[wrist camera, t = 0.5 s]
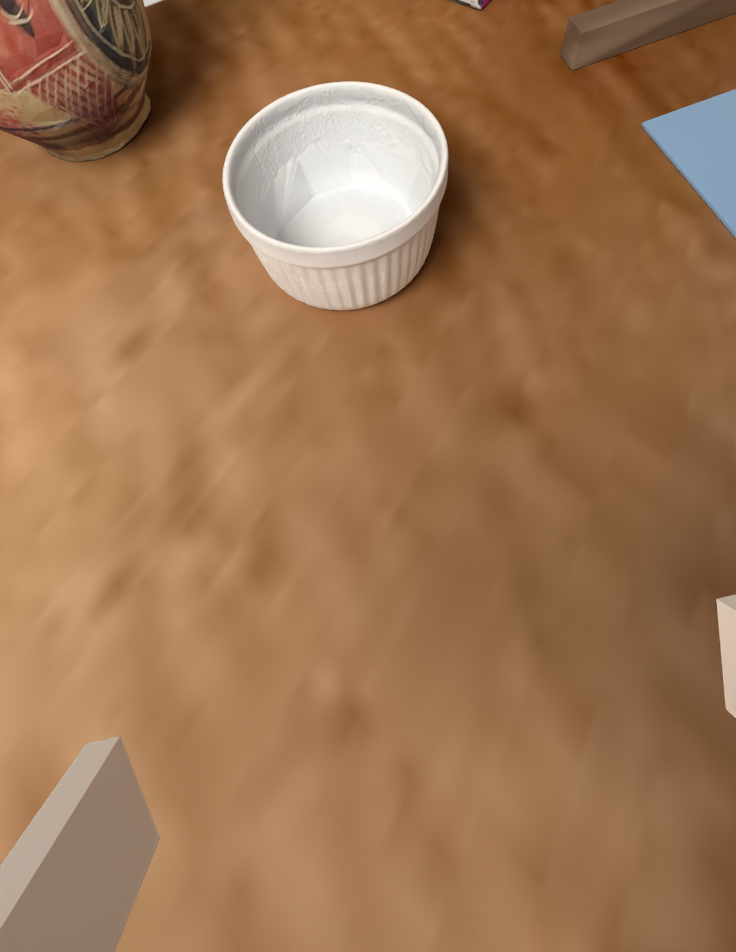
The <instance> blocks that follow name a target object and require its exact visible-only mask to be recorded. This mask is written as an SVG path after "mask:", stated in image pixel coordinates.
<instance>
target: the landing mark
mask: <svg viewBox="0 0 736 952" xmlns="http://www.w3.org/2000/svg"><path fill="white" fill-rule="evenodd" d="M641 126H642V127H643V128H644V130H645V131H646V132H647V133H648V134H649V136H650V137H651V138H652V139H653V140H654V141H655V143H656V144H657V145H658V146H659V147H660V149H661V150H662V151H663V152H664V153H665V155H666V156H667V157H668V158H669V159H670V161H671V162H672V163H673V164H674V165H675V166H676V168H677V169H678V170H679V171H680V172H681V174H682V175H683V176H684V177H685V178H686V180H687V181H688V182H689V183H690V184H691V185H692V187H693V188H694V189H695V190H696V191H697V193H698V194H699V195H700V196H701V197H702V199H703V200H704V201H705V202H706V203H707V205H708V206H709V207H710V208H711V209H712V210H713V212H714V213H715V214H716V215H717V216H718V218H719V219H720V220H721V221H722V222H723V224H724V225H725V226H726V227H727V228H728V230H729V231H730V232H731V233H732V234H733V235H734V237H735V238H736V89H735V90H732V91H729V92H726V93H724V94H721V95H718V96H715V97H712V98H710V99H707V100H704V101H701V102H699V103H696V104H693V105H690V106H687V107H685V108H682V109H679V110H676V111H673V112H671V113H668V114H665V115H662V116H659V117H657V118H654V119H651V120H648V121H645V122H643V123H642V124H641Z"/></svg>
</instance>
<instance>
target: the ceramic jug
mask: <svg viewBox="0 0 736 952" xmlns="http://www.w3.org/2000/svg"><path fill="white" fill-rule="evenodd" d="M151 48H152V39H151V32H150V26H149V22H148V18H147V15H146V11H145V7H144V3H143V0H0V130H2V131H5V132H7V133H10V134H12V135H15V136H18V137H20V138H23V139H26V140H28V141H31V142H33V143H36V144H38V145H40V146H42V147H44V148H45V149H46V150H47V151H48V152H49V153H50V154H51V155H53V156H55V157H57V158H59V159H62V160H66V161H72V162H80V161H86V160H96V159H99V158H102V157H105V156H107V155H109V154H112V153H114V152H116V151H118V150H119V149H120V148H122V147H123V146H124V145H125V144H127V143H128V142H129V141H130V140H131V139H132V138H133V137H134V136H135V135H136V134H137V133H138V131H139V130H140V128H141V127H142V125H143V123H144V122H145V120H146V119H147V117H148V115H149V113H150V111H151V100H150V99H149V97H148V96H147V95H146V93H145V86H146V80H147V74H148V68H149V62H150V55H151ZM199 83H200V82H199Z"/></svg>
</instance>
